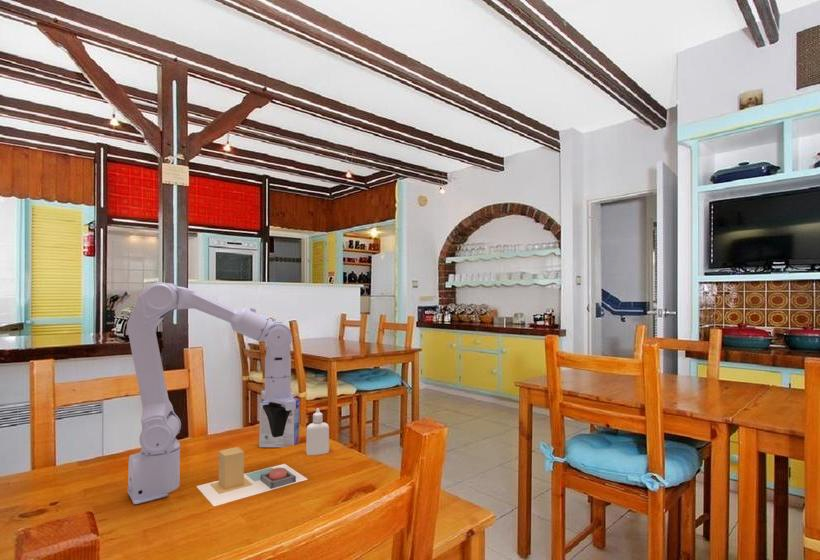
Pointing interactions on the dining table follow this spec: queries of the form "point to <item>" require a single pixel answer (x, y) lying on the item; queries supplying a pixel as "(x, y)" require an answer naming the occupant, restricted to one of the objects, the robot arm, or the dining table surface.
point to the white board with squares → (249, 485)
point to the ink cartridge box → (290, 430)
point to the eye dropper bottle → (317, 435)
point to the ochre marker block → (231, 468)
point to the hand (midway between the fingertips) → (277, 436)
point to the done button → (277, 474)
